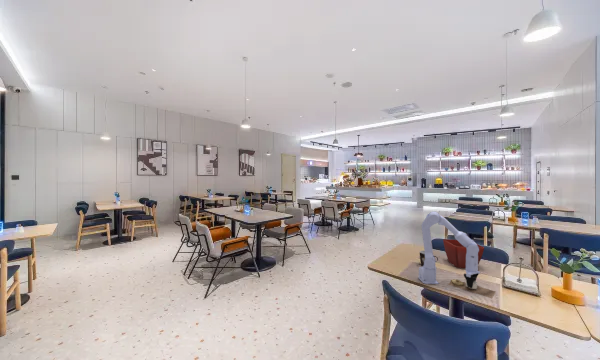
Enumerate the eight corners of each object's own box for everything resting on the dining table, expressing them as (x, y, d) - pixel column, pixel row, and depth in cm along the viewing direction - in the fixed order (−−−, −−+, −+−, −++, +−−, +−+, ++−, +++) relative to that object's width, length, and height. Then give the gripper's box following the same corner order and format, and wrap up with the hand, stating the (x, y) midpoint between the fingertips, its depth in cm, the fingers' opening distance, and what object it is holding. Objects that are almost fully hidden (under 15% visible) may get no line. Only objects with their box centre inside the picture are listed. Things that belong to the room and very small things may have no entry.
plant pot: (467, 261, 184) (468, 239, 183) (484, 271, 165) (485, 247, 164) (442, 260, 186) (442, 239, 185) (455, 270, 167) (456, 246, 166)
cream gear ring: (464, 286, 138) (464, 281, 138) (467, 283, 142) (467, 278, 142) (475, 289, 135) (475, 284, 134) (477, 286, 138) (478, 281, 138)
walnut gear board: (447, 286, 142) (447, 280, 142) (453, 280, 150) (453, 275, 150) (491, 300, 127) (492, 293, 127) (495, 293, 134) (496, 287, 134)
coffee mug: (416, 264, 177) (416, 251, 176) (425, 262, 180) (425, 250, 179) (429, 270, 166) (430, 256, 166) (438, 268, 169) (439, 255, 169)
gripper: (477, 268, 130) (476, 292, 130) (483, 261, 140) (482, 284, 140) (462, 264, 135) (461, 287, 136) (468, 258, 145) (468, 280, 145)
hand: (471, 285), depth 138 cm, fingers open, 5 cm apart
